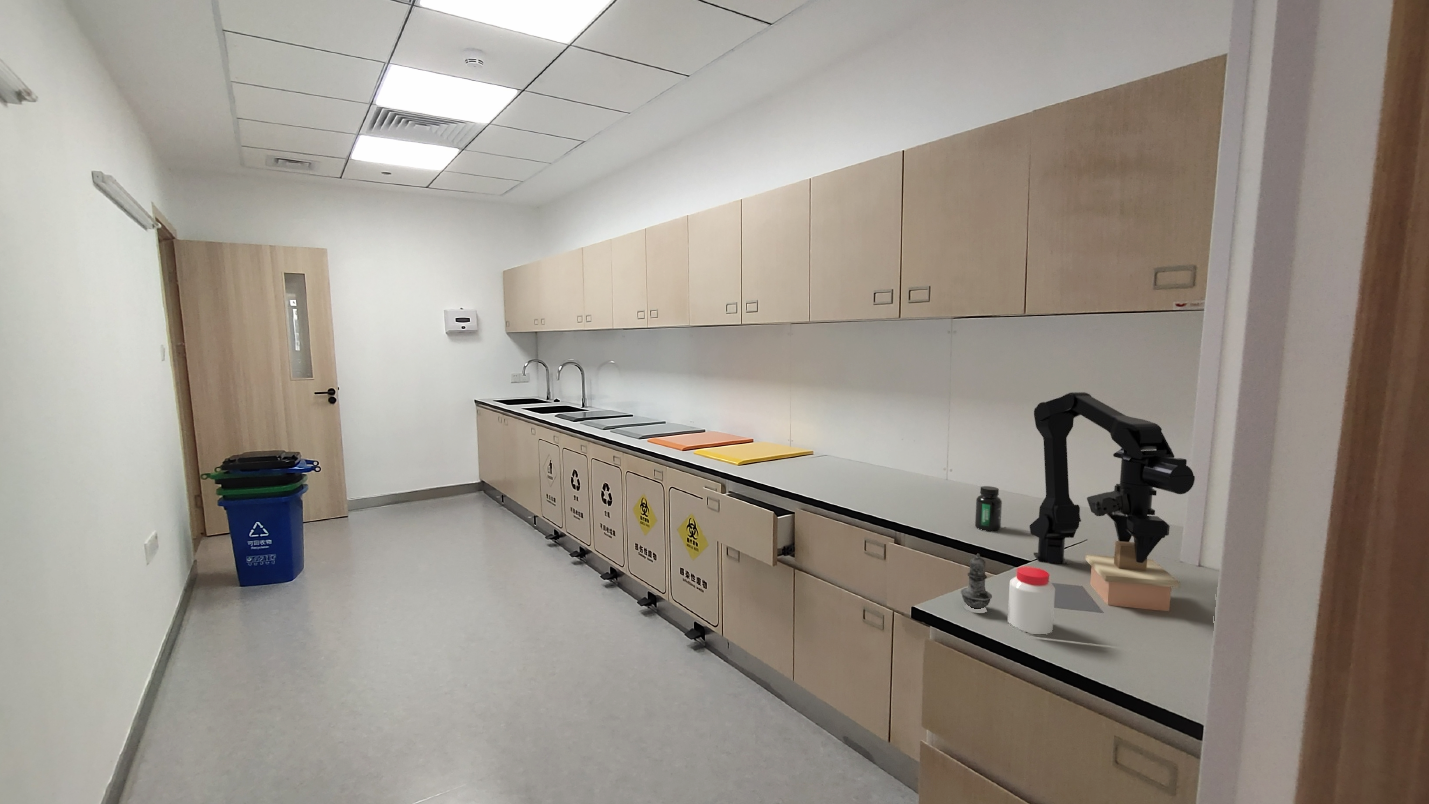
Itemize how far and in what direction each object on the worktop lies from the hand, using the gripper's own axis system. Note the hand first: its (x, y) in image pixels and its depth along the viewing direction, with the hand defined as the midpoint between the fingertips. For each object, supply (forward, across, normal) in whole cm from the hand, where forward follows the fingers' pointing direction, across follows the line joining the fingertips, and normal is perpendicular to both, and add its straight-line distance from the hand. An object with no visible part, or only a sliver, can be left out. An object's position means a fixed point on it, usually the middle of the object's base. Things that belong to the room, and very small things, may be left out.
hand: (1130, 554), depth 130 cm
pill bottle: (+10, +20, -23) cm, 32 cm away
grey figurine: (+10, +15, -32) cm, 37 cm away
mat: (+10, +3, -14) cm, 18 cm away
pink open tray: (+10, 0, 0) cm, 10 cm away
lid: (+4, 0, 0) cm, 4 cm away
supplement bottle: (+10, -45, -21) cm, 51 cm away
